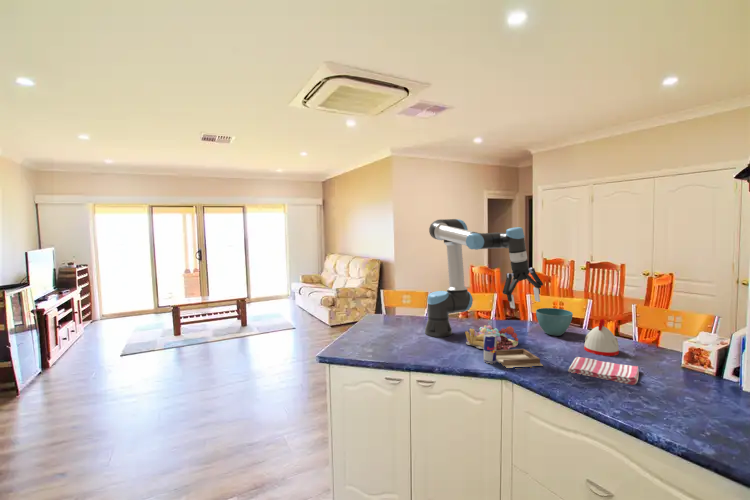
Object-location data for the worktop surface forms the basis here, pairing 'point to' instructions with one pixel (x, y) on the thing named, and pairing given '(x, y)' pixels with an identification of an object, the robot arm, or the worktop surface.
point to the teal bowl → (554, 320)
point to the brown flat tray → (517, 358)
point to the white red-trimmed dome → (601, 341)
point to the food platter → (501, 339)
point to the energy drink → (490, 348)
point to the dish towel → (605, 370)
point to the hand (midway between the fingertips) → (525, 304)
